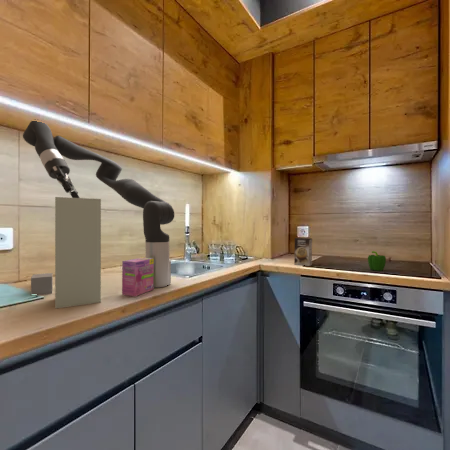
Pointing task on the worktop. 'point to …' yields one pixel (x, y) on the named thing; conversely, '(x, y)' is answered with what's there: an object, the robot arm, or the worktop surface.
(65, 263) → the stand
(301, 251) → the coffee box
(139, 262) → the box
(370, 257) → the bell pepper
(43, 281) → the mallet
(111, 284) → the worktop surface
